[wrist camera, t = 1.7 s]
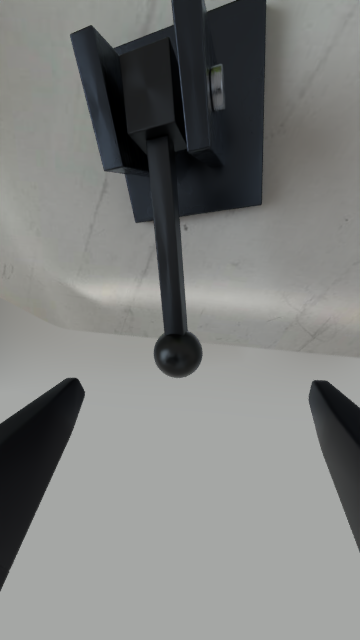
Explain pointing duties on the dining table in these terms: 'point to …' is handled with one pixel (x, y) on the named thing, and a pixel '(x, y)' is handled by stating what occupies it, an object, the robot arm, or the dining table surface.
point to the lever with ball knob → (162, 187)
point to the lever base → (190, 106)
